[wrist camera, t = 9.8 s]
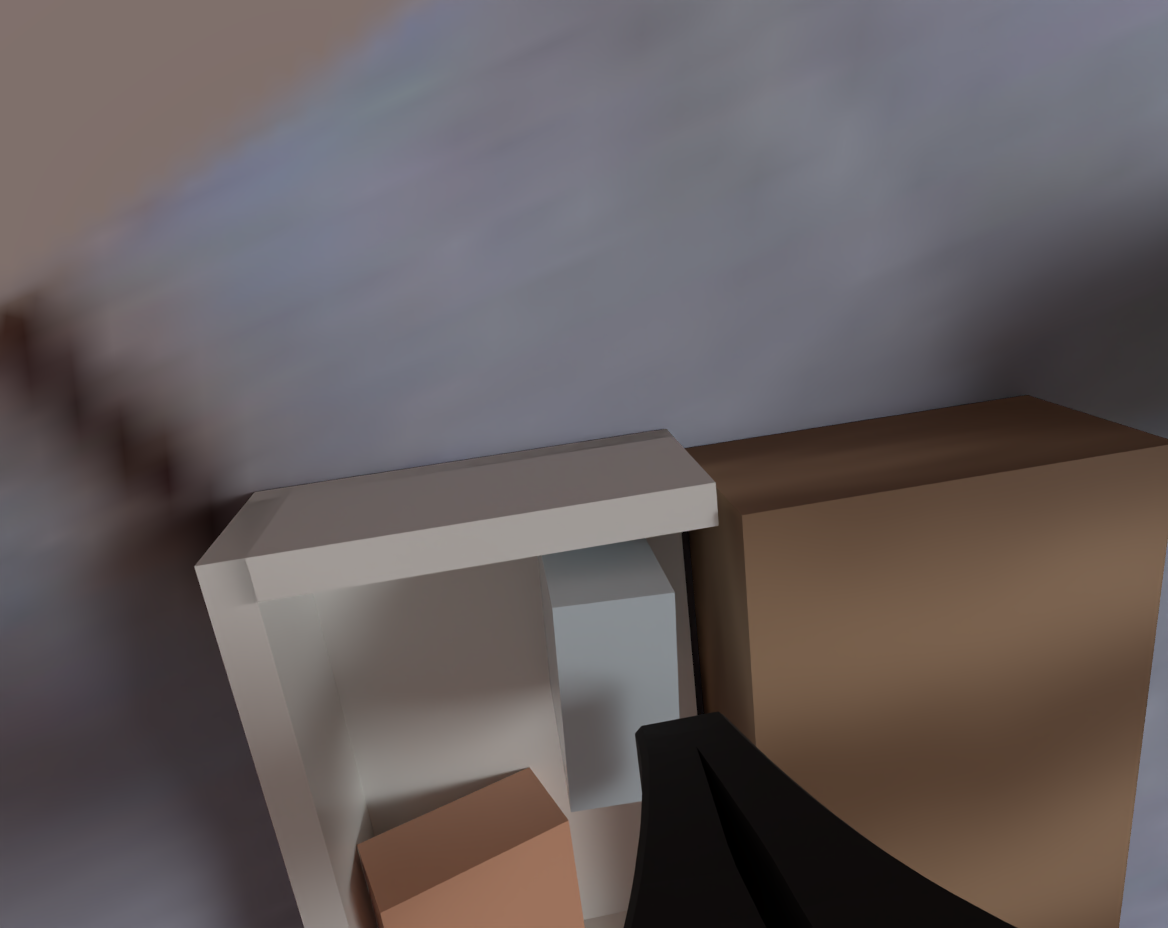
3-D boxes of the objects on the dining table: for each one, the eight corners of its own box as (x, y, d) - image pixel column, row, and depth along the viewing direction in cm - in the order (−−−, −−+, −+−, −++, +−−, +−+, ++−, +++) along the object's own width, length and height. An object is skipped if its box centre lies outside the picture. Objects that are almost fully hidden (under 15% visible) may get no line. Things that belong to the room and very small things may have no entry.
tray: (708, 897, 21) (754, 1031, 17) (381, 966, 20) (362, 1120, 16) (666, 428, 17) (715, 482, 13) (254, 492, 16) (194, 566, 12)
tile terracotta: (418, 1063, 16) (393, 984, 18) (589, 962, 18) (551, 900, 19) (380, 913, 15) (356, 844, 16) (568, 820, 16) (529, 766, 18)
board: (1001, 821, 21) (1115, 951, 17) (718, 880, 21) (773, 1029, 17) (1027, 394, 18) (1179, 443, 14) (681, 449, 17) (742, 514, 13)
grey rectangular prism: (682, 795, 14) (570, 812, 14) (637, 671, 18) (549, 683, 17) (674, 592, 13) (551, 607, 12) (628, 506, 16) (533, 517, 16)
